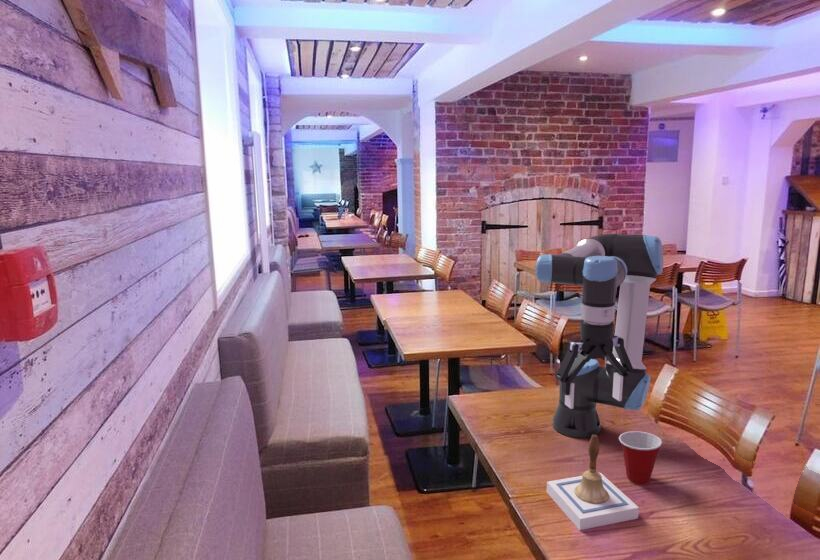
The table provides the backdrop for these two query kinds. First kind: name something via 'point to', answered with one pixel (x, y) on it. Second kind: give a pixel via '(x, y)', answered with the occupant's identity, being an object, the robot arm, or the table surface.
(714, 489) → the table surface
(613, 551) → the table surface
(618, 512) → the display board
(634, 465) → the plastic cup
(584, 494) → the hand bell
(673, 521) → the table surface
